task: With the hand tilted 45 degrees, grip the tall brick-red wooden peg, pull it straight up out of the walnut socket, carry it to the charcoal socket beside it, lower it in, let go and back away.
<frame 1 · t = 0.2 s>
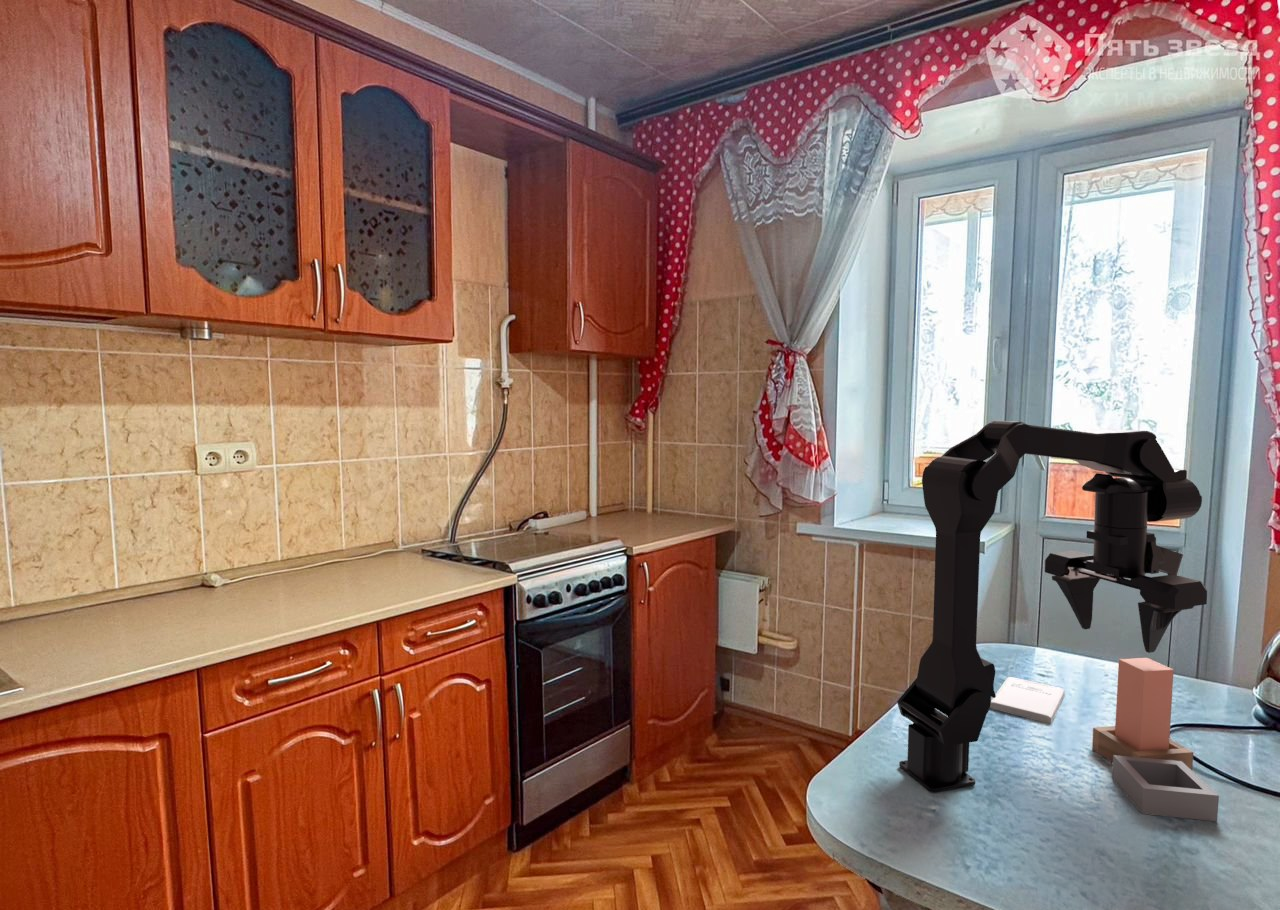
hand: (1116, 639, 92), 15 cm above the table, tool pointing down, fingers open, 9 cm apart
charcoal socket: (1161, 798, 81), on the table
external hard drive: (1027, 705, 107), on the table
walnut socket: (1140, 761, 89), on the table
peg: (1142, 713, 89), in the walnut socket
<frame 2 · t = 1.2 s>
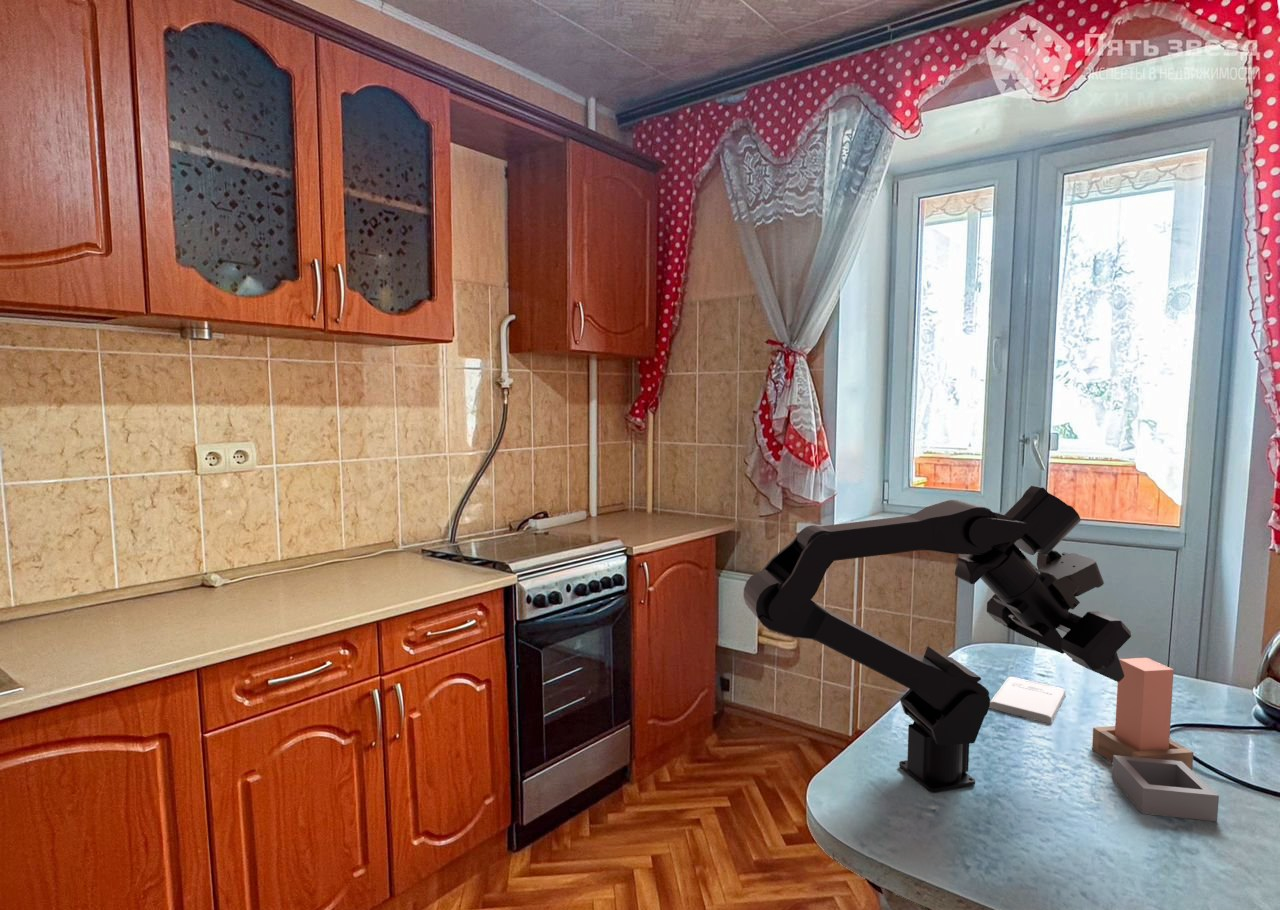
hand: (1091, 664, 87), 13 cm above the table, tool tilted 45°, fingers open, 9 cm apart
nothing on the table moved.
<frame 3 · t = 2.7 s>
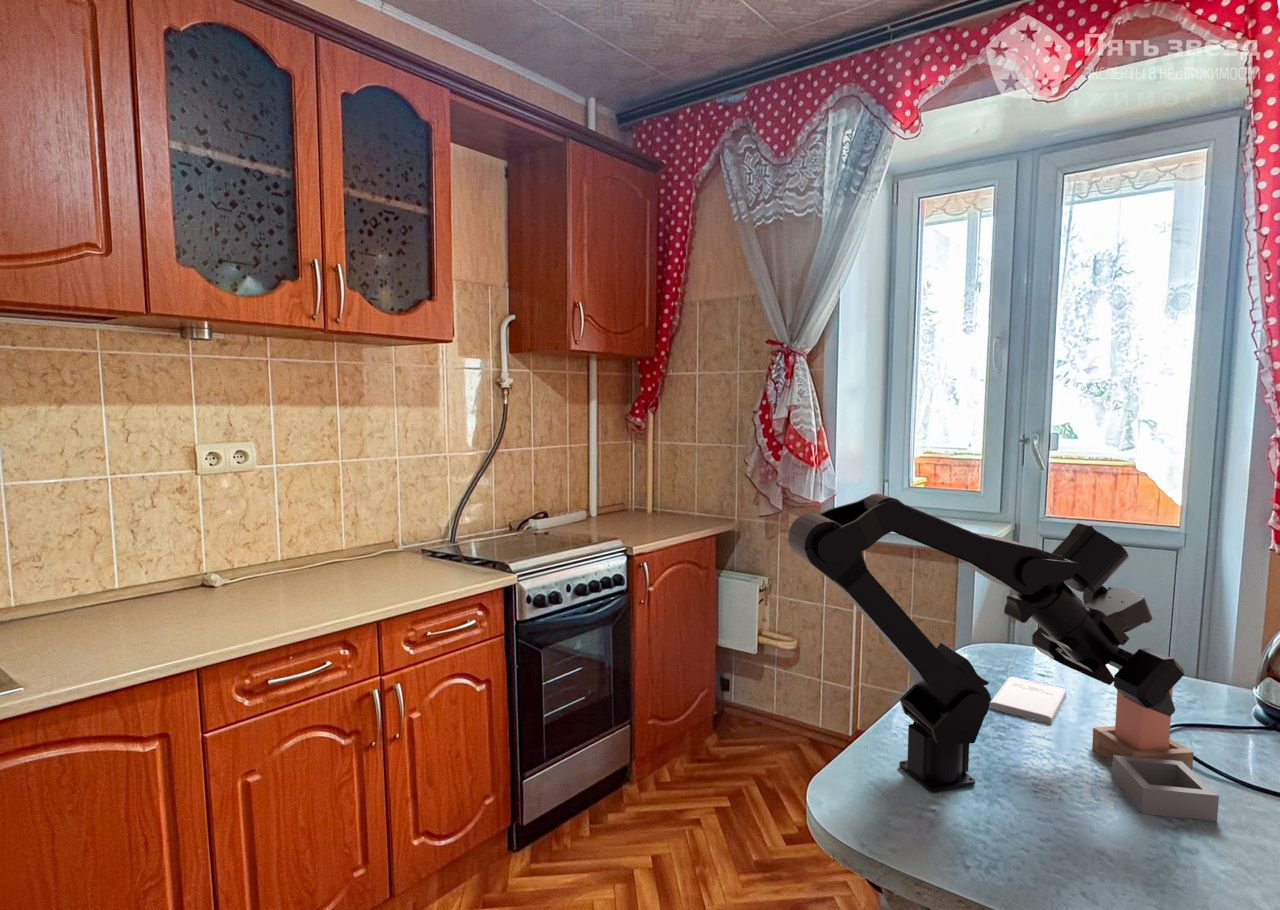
hand: (1140, 696, 88), 9 cm above the table, tool tilted 45°, fingers open, 9 cm apart
nothing on the table moved.
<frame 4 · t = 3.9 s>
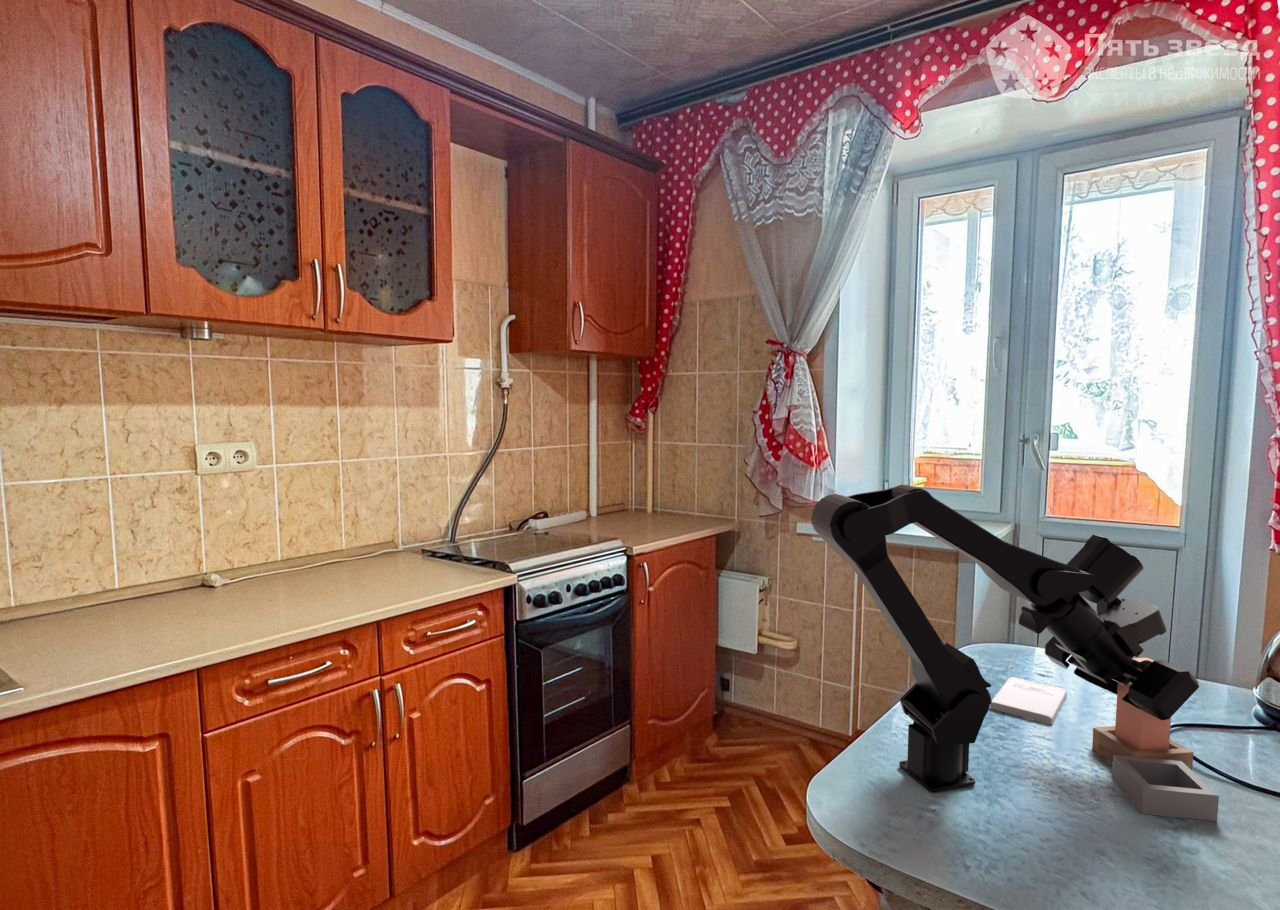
hand: (1153, 708, 89), 7 cm above the table, tool tilted 45°, fingers closed on peg, 4 cm apart
peg: (1143, 713, 89), in the walnut socket, touching gripper
everything else where it was.
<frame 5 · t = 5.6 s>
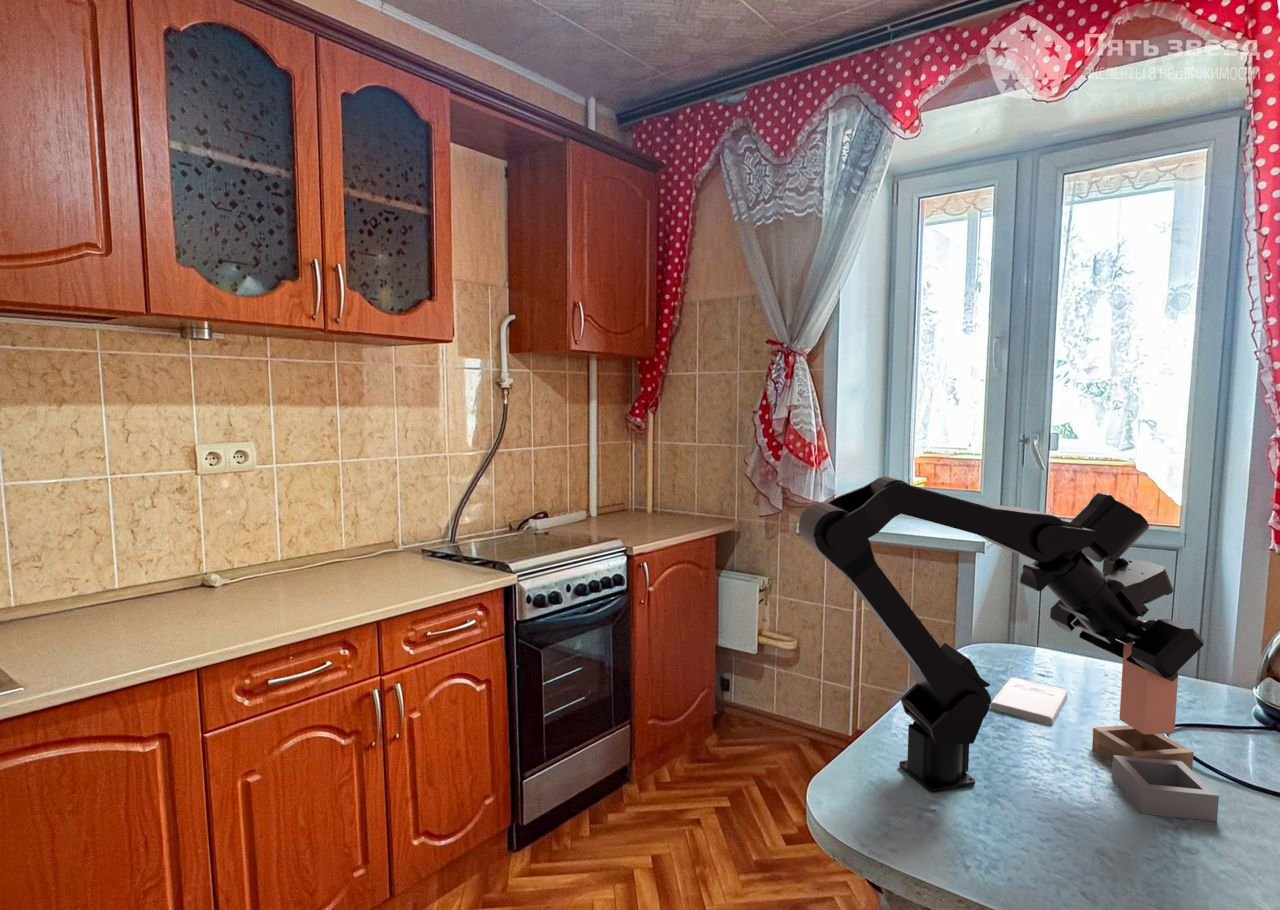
hand: (1160, 671, 87), 12 cm above the table, tool tilted 45°, fingers closed on peg, 4 cm apart
peg: (1149, 676, 87), point 12 cm above the table, touching gripper
everything else where it was.
when the fingers open (8 cm above the table, at t = 7.6 s): peg stays where it is, resting in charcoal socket.
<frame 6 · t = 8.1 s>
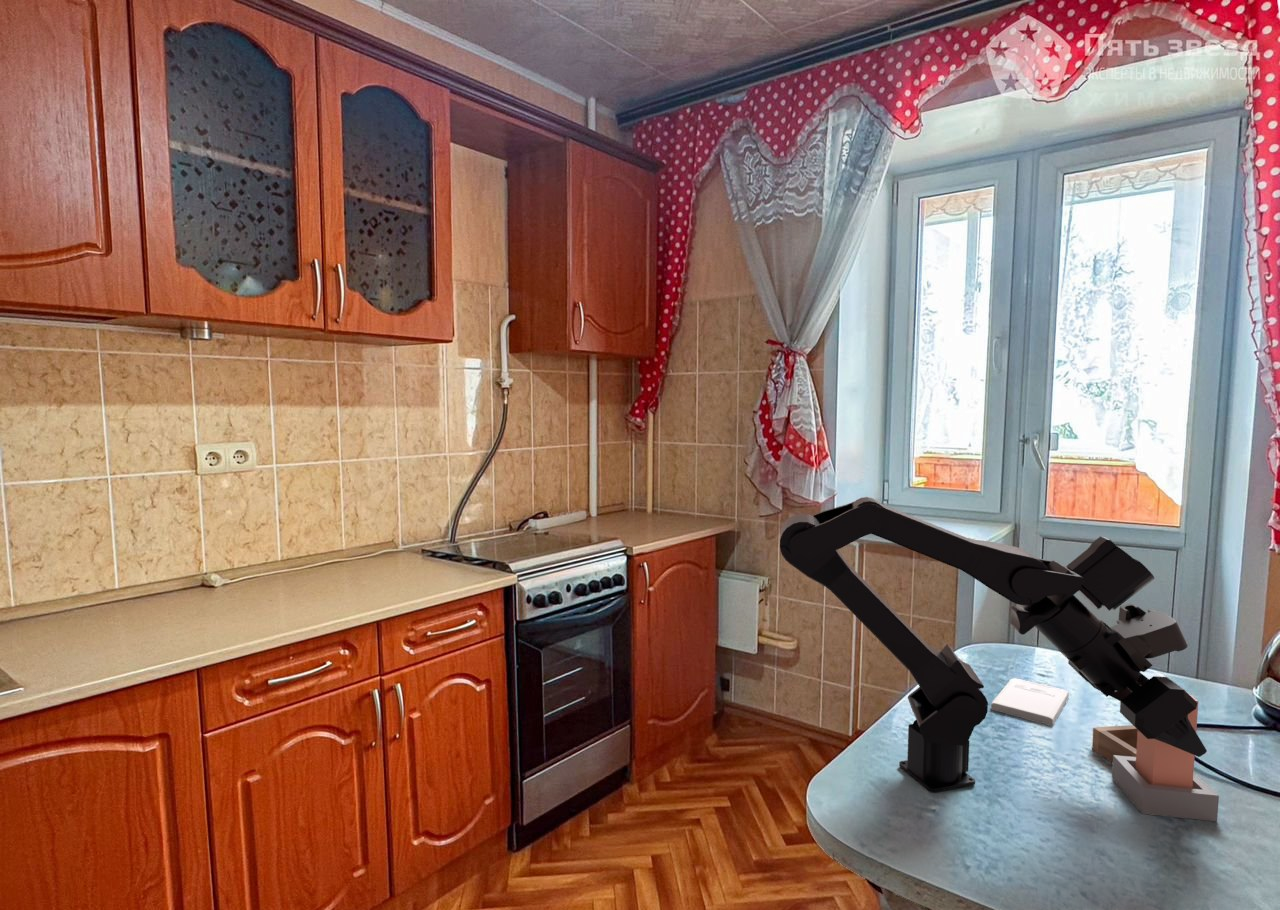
hand: (1179, 733, 80), 8 cm above the table, tool tilted 45°, fingers open, 9 cm apart
peg: (1165, 745, 80), in the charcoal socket
everything else where it was.
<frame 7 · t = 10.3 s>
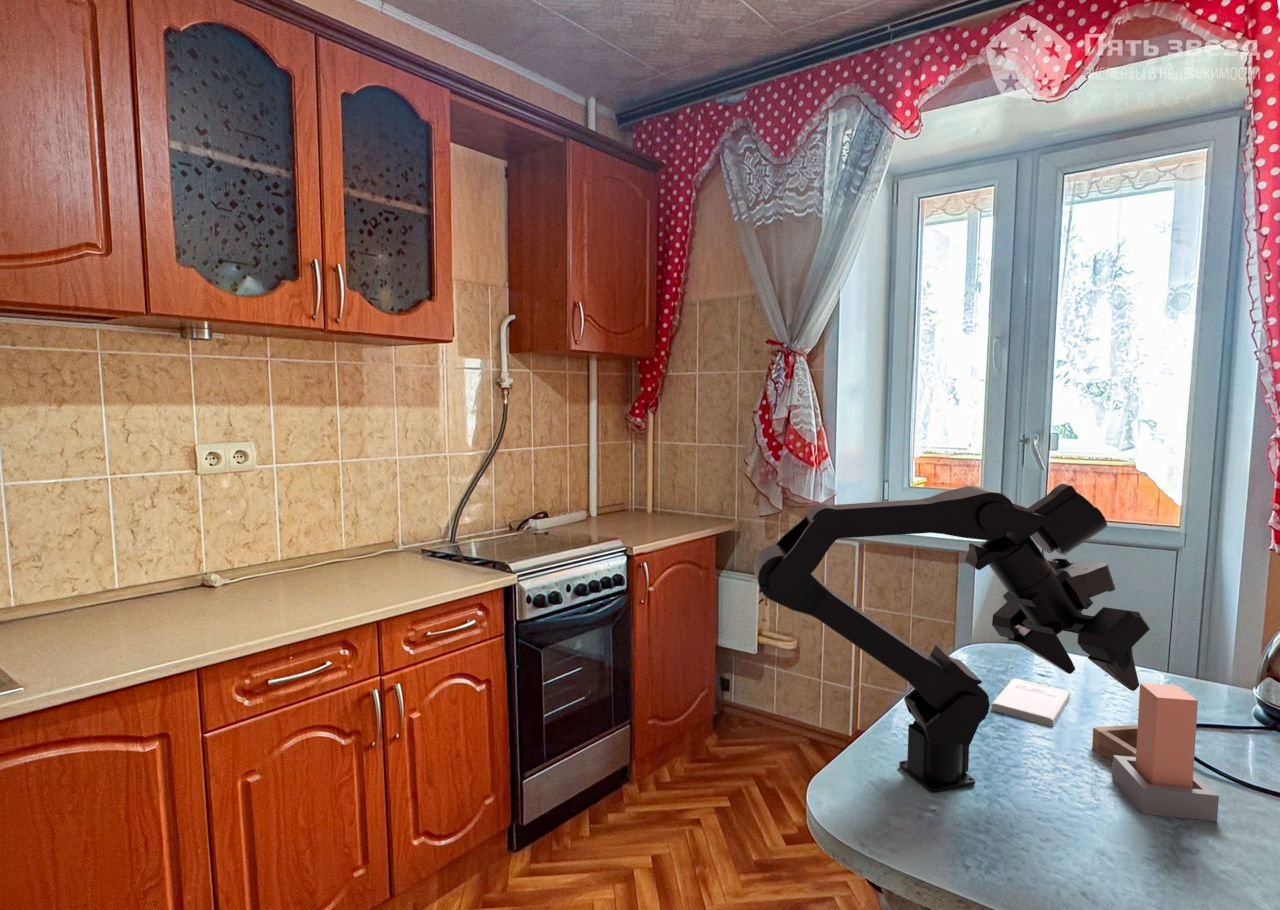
hand: (1102, 679, 84), 13 cm above the table, tool tilted 35°, fingers open, 9 cm apart
nothing on the table moved.
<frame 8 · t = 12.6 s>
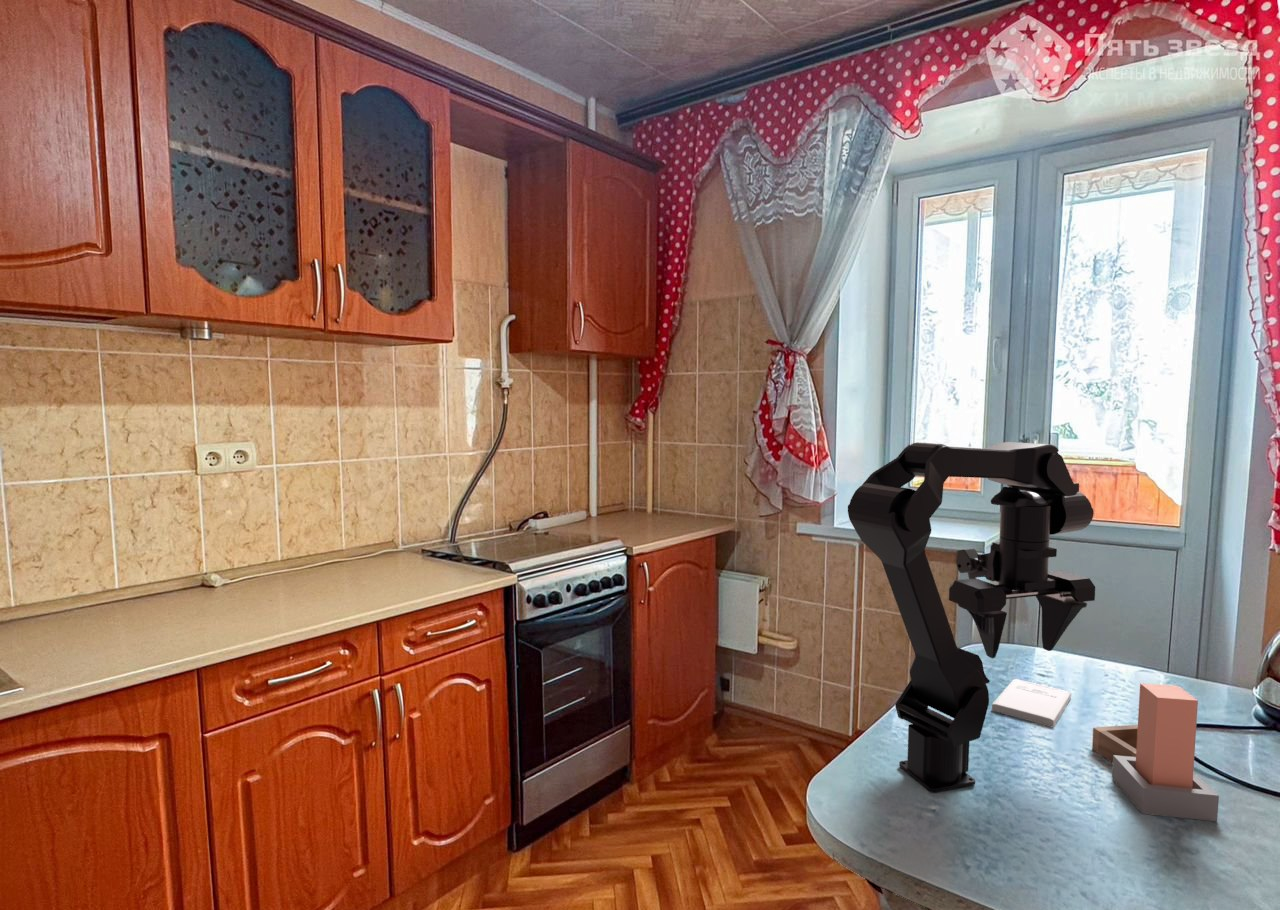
hand: (1019, 653, 92), 13 cm above the table, tool pointing down, fingers open, 9 cm apart
at the end: peg 0.1 cm off-centre on the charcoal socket, point 6.5 cm above the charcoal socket's base; peg tilted 0°; the gripper is holding nothing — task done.
